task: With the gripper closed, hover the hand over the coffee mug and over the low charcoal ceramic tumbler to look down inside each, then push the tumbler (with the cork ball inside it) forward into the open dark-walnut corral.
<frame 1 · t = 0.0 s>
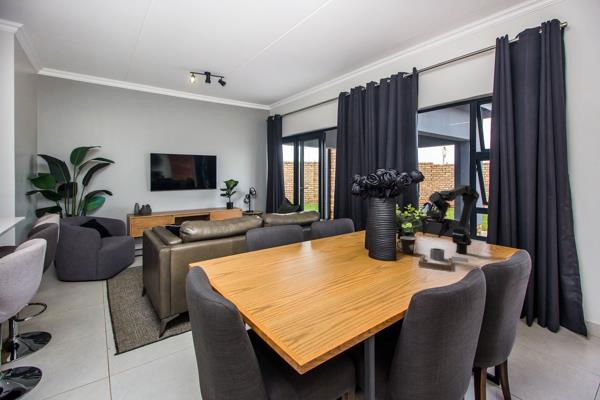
hand: (431, 235, 156), 15 cm above the table, tool tilted 35°, fingers open, 9 cm apart
coffee mug: (404, 254, 174), on the table
felt coaster: (459, 260, 161), on the table
tumbler: (437, 260, 162), on the table, touching cork ball
corral: (435, 265, 152), on the table
cork ball: (437, 258, 162), point 1 cm above the table, touching tumbler
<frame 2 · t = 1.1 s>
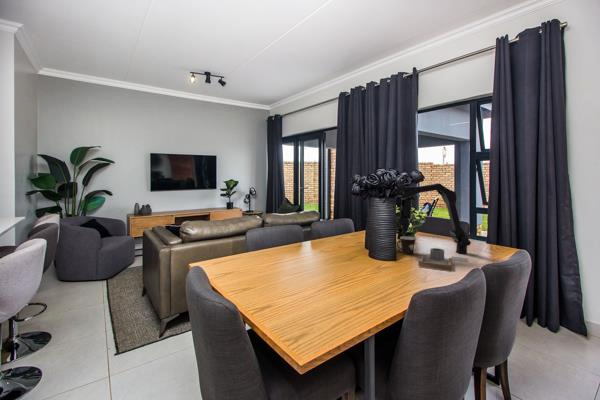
hand: (405, 233, 173), 13 cm above the table, tool pointing down, fingers open, 7 cm apart
nothing on the table moved.
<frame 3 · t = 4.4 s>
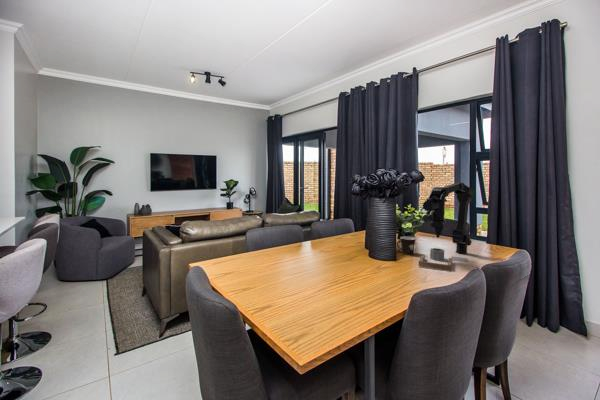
hand: (437, 237, 161), 13 cm above the table, tool pointing down, fingers closed
nothing on the table moved.
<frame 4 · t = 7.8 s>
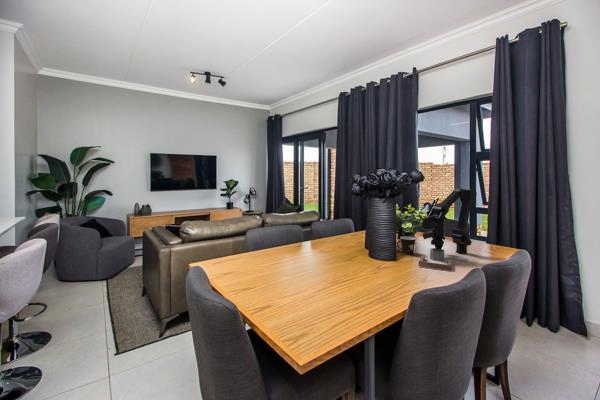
hand: (437, 254, 166), 2 cm above the table, tool pointing down, fingers closed
tumbler: (437, 260, 161), on the table, touching cork ball, gripper
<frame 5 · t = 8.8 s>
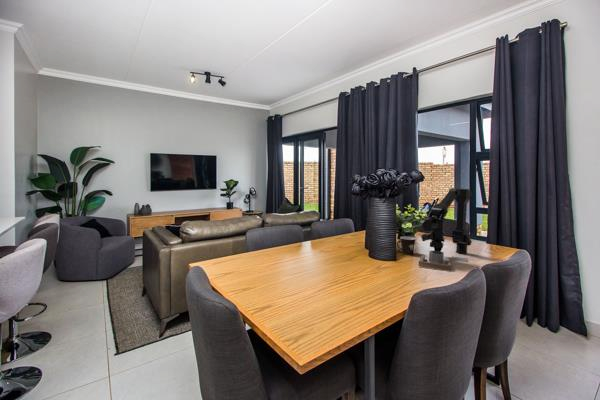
hand: (436, 256, 161), 2 cm above the table, tool pointing down, fingers closed
tumbler: (436, 263, 156), on the table, touching cork ball, gripper
cork ball: (436, 261, 156), point 1 cm above the table, tilted 14°, touching tumbler
everything else where it was.
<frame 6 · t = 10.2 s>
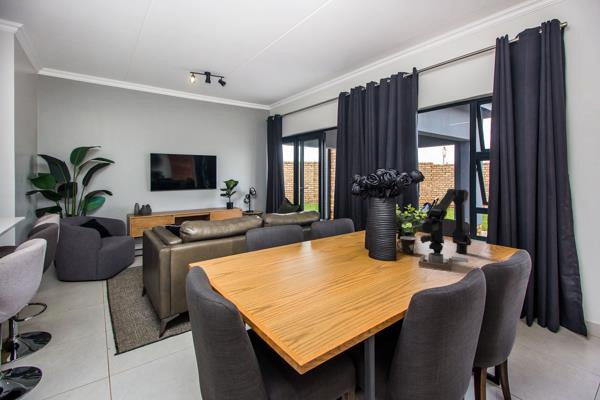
hand: (436, 258, 157), 2 cm above the table, tool pointing down, fingers closed
tumbler: (435, 265, 152), on the table, touching cork ball, gripper
cork ball: (435, 263, 152), point 1 cm above the table, tilted 35°, touching tumbler
everything else where it was.
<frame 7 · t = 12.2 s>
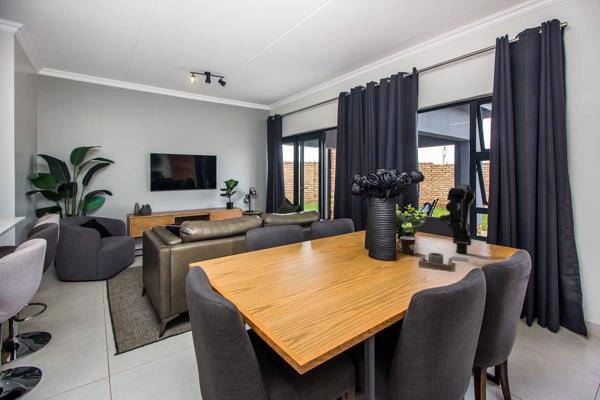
hand: (455, 237, 161), 13 cm above the table, tool pointing down, fingers closed
tumbler: (435, 265, 152), on the table, touching cork ball
cork ball: (435, 263, 152), point 1 cm above the table, tilted 29°, touching tumbler
everything else where it was.
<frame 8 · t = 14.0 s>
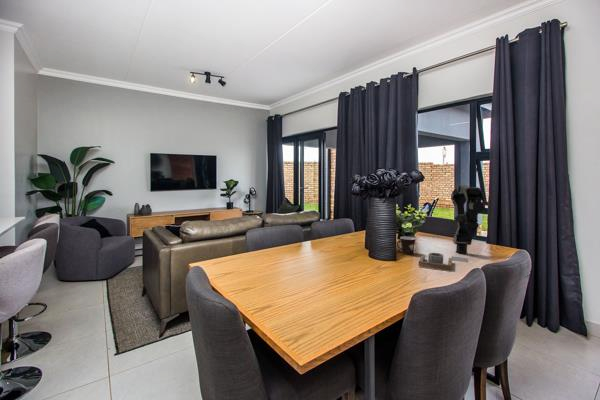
hand: (470, 237, 159), 13 cm above the table, tool pointing down, fingers closed
cork ball: (435, 263, 152), point 1 cm above the table, tilted 34°, touching tumbler
everything else where it was.
at the end: tumbler inside the target area on the corral (0.3 cm from its centre), point 0.0 cm above the corral's base; tumbler tilted 0°; coffee mug moved 0.2 cm from its start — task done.
